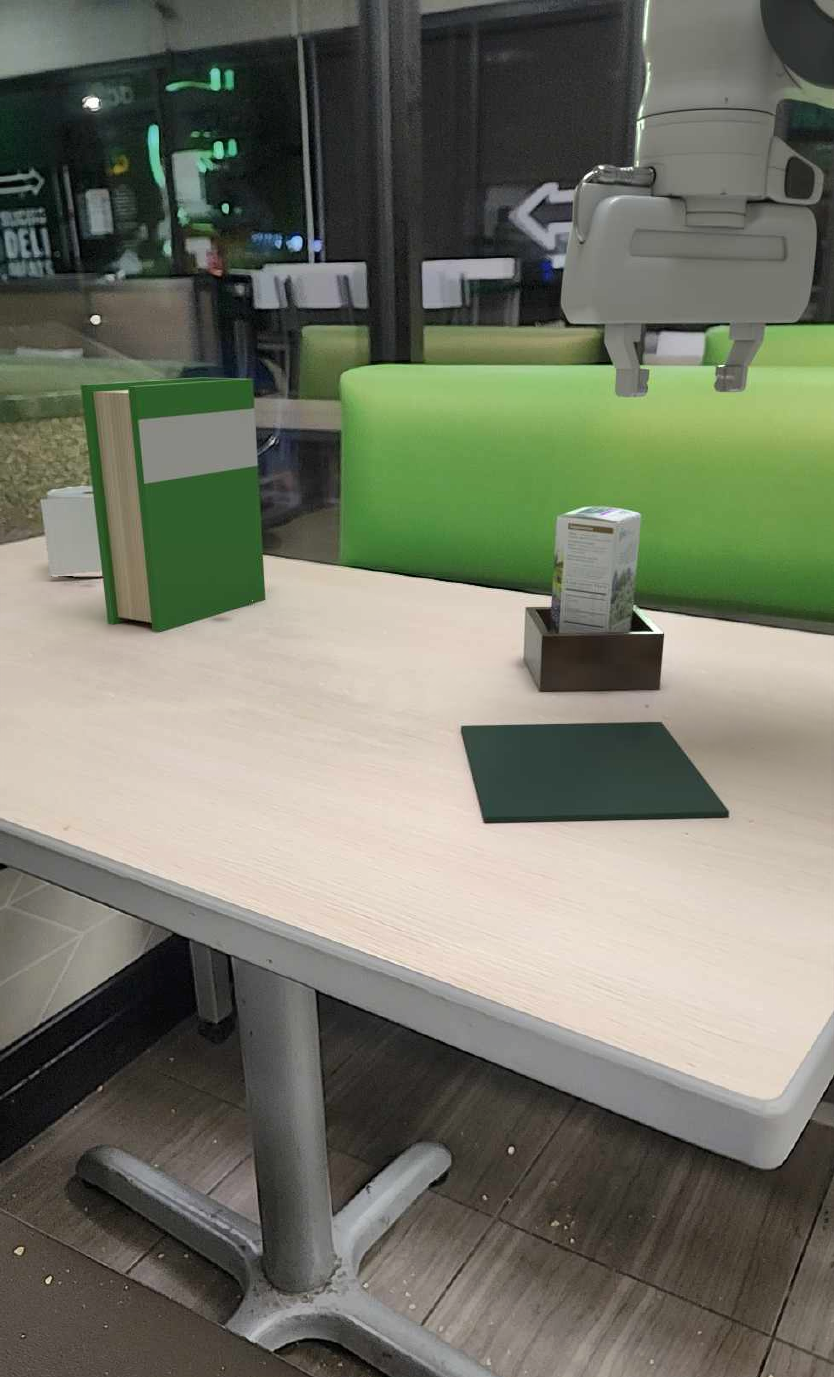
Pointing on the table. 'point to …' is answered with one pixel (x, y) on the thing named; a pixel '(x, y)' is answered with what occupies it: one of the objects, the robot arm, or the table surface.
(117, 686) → the table surface
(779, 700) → the table surface
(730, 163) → the robot arm
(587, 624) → the syrup box
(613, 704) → the table surface
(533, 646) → the box
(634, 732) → the mat
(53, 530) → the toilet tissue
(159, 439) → the hardback book
